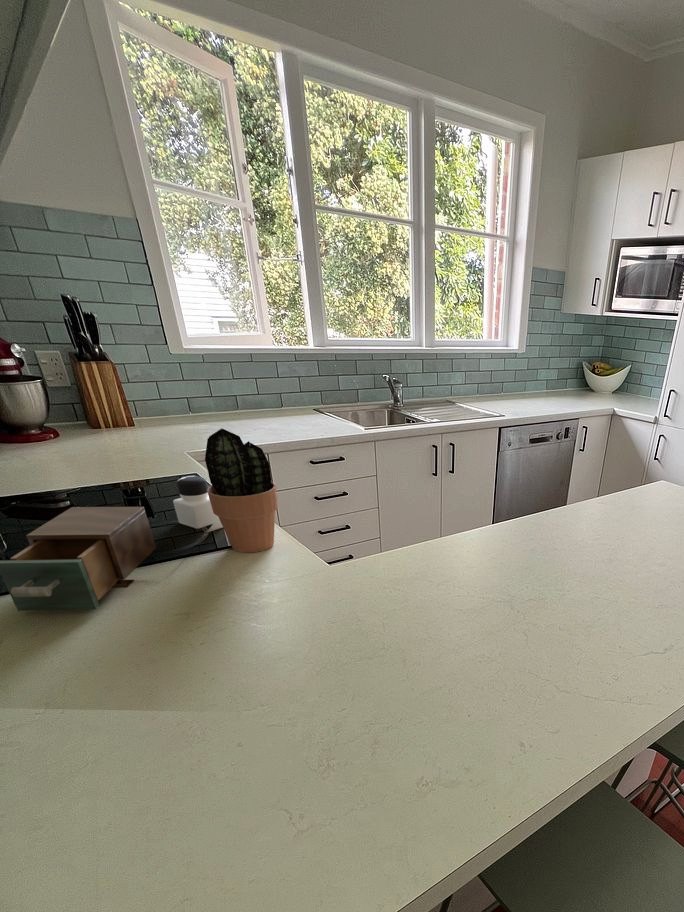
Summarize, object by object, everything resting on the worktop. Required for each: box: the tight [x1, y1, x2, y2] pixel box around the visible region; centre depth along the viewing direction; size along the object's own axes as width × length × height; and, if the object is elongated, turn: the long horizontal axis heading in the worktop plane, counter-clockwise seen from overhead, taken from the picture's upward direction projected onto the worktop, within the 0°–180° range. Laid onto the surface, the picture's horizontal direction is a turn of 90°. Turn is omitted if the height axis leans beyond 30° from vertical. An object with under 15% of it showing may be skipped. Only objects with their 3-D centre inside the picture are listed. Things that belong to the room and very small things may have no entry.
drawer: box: [0, 539, 120, 612], centre depth 95 cm, size 19×12×9 cm, turn 7°
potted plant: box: [204, 428, 279, 553], centre depth 115 cm, size 14×14×25 cm
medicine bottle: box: [172, 475, 224, 534], centre depth 127 cm, size 7×7×12 cm
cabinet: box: [25, 506, 157, 589], centre depth 106 cm, size 16×14×11 cm
